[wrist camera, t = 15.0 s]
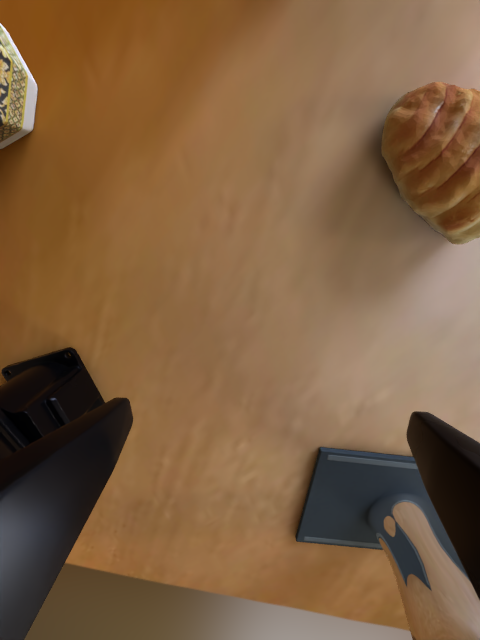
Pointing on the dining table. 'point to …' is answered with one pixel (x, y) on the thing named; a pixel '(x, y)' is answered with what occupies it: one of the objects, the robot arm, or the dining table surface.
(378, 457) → the mat
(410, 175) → the pastry
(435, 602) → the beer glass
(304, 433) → the dining table surface
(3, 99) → the ceramic cup
